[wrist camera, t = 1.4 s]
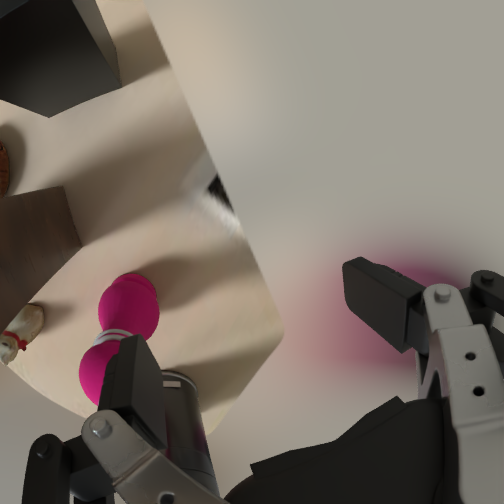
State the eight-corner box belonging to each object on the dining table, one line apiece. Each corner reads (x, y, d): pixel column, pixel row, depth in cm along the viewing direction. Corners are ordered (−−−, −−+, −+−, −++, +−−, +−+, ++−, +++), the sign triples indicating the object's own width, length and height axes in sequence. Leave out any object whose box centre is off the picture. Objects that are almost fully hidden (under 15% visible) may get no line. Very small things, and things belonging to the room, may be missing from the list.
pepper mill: (152, 264, 33) (137, 370, 15) (166, 315, 35) (172, 438, 17) (99, 275, 32) (42, 379, 13) (115, 324, 34) (89, 445, 15)
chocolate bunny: (3, 307, 28) (-29, 342, 19) (40, 301, 30) (10, 340, 21) (16, 339, 30) (-9, 378, 21) (54, 336, 32) (31, 379, 22)
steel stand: (122, 87, 26) (62, -17, 6) (48, 118, 24) (-70, 77, 4) (115, 47, 24) (70, -68, 4) (44, 78, 22) (-55, 12, 2)
